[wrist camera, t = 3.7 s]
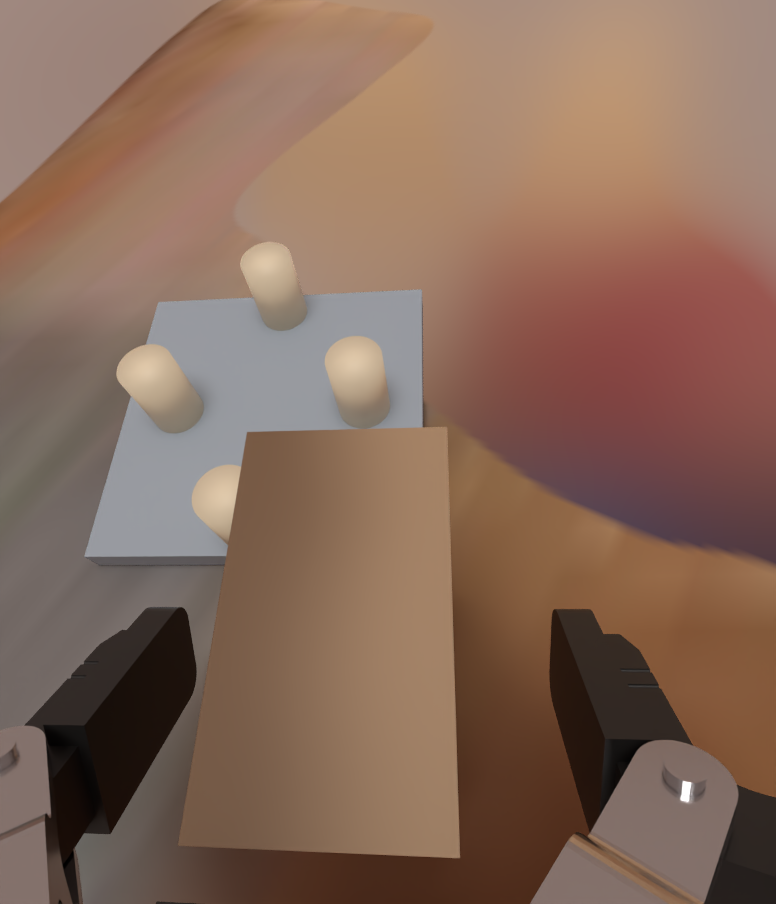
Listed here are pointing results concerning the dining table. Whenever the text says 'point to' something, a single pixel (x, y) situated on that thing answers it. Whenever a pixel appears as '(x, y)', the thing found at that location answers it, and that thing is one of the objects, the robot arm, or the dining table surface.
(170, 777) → the dining table surface
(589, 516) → the dining table surface
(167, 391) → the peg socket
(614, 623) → the dining table surface
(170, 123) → the dining table surface
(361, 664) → the brown rectangular block
